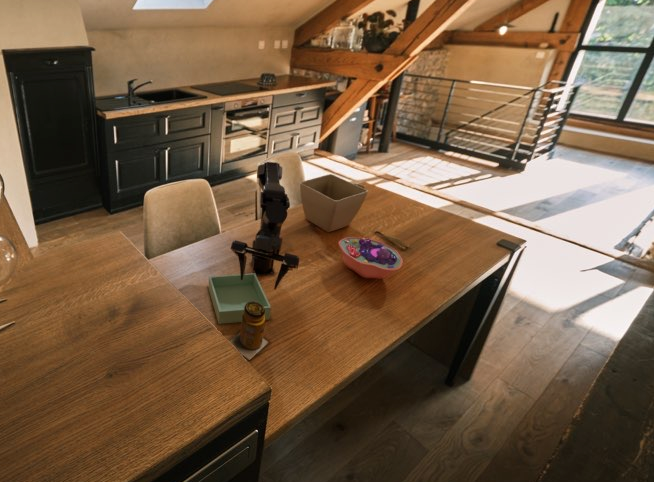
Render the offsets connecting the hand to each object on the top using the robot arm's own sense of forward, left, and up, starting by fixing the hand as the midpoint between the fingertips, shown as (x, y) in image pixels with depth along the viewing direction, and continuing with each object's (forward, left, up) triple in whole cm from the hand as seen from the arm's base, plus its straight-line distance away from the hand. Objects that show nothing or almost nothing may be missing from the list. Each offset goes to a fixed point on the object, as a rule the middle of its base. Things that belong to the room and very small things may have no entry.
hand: (257, 284), depth 105 cm
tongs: (-65, -34, -14) cm, 75 cm away
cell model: (-45, -18, -14) cm, 51 cm away
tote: (+3, -8, -13) cm, 16 cm away
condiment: (+4, +7, -14) cm, 16 cm away
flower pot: (-47, -50, -14) cm, 70 cm away
